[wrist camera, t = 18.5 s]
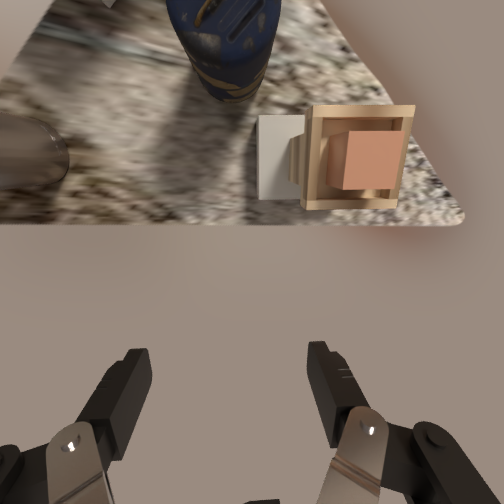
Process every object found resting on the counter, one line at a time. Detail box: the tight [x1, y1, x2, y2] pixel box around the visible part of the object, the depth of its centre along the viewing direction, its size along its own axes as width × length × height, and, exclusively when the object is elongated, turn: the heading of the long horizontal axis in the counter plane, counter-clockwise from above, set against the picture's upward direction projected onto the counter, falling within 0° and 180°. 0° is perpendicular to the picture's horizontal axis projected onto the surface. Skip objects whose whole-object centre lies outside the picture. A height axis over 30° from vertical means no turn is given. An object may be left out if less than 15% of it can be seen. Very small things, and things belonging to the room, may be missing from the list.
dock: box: [256, 115, 305, 200], centre depth 38 cm, size 14×11×5 cm
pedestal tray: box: [288, 105, 415, 210], centre depth 28 cm, size 8×8×16 cm
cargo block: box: [326, 131, 405, 190], centre depth 20 cm, size 4×4×4 cm
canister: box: [166, 0, 281, 103], centre depth 27 cm, size 10×10×18 cm
